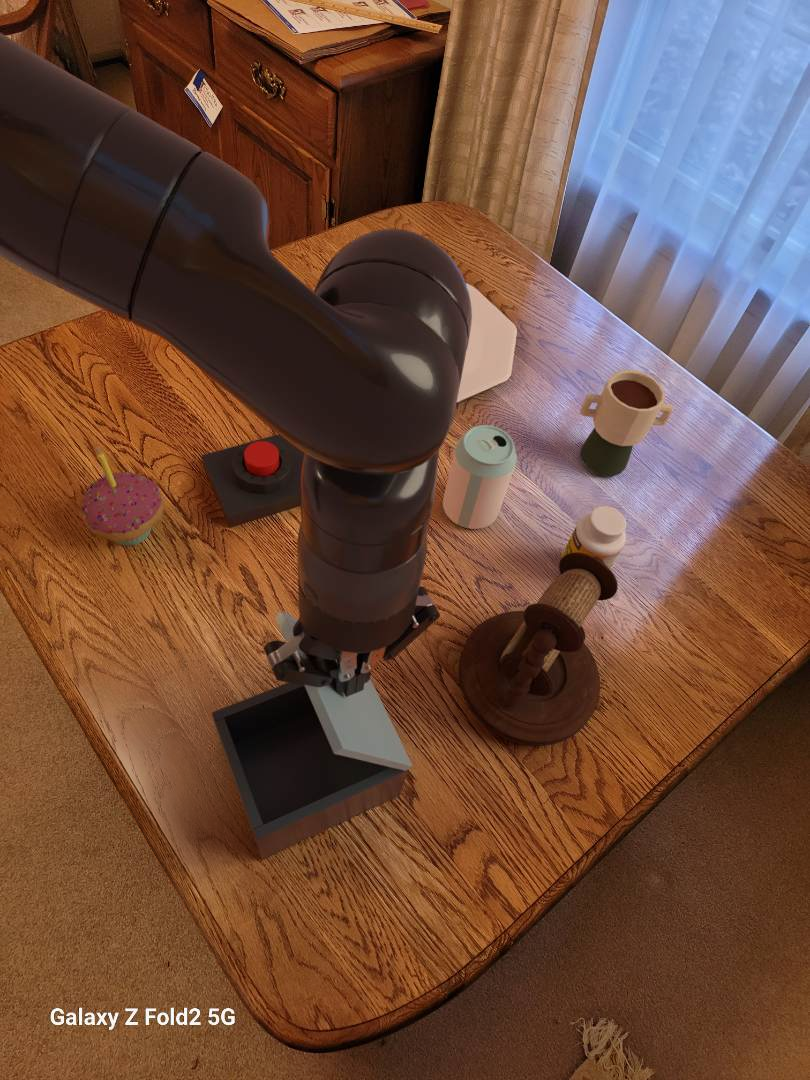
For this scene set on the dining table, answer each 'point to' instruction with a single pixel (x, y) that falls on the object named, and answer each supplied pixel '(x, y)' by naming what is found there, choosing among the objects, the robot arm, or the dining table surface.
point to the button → (261, 458)
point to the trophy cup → (621, 419)
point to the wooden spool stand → (539, 659)
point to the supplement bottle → (599, 535)
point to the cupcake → (122, 506)
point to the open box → (295, 769)
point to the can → (479, 476)
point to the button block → (254, 482)
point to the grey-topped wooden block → (354, 719)
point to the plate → (486, 348)
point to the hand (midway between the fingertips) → (349, 683)
